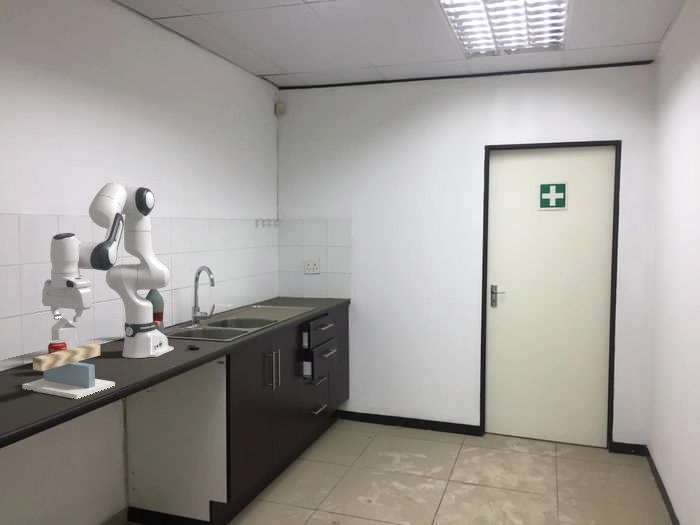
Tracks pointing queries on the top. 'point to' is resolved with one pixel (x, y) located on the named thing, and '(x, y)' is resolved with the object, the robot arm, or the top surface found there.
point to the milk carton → (65, 332)
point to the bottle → (157, 308)
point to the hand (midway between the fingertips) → (67, 320)
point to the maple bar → (65, 357)
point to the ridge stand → (69, 381)
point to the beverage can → (56, 346)
